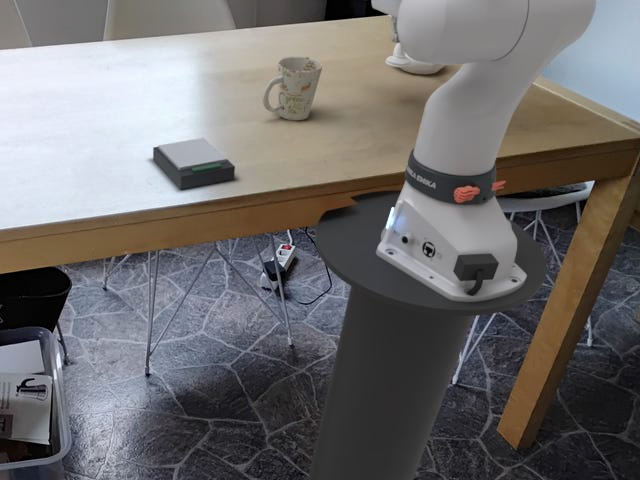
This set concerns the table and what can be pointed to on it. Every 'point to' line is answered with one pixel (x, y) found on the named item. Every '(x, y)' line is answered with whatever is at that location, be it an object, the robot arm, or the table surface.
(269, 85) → the mug
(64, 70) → the table surface
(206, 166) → the scale
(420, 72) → the teapot
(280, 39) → the table surface
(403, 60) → the chess piece
